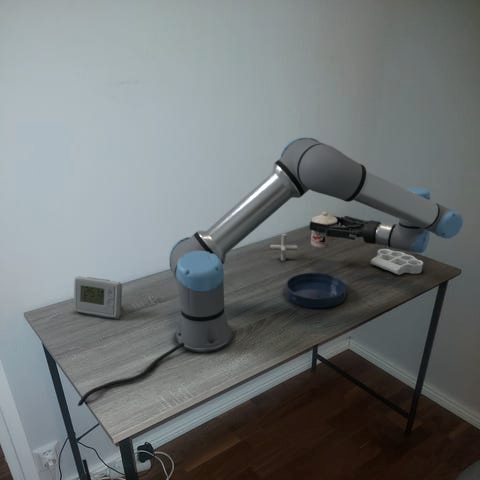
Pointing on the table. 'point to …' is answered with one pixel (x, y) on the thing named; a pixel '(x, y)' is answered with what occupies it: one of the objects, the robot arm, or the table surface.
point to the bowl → (315, 290)
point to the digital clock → (97, 297)
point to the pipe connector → (283, 247)
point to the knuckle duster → (397, 262)
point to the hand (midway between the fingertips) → (316, 221)
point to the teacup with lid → (319, 237)
